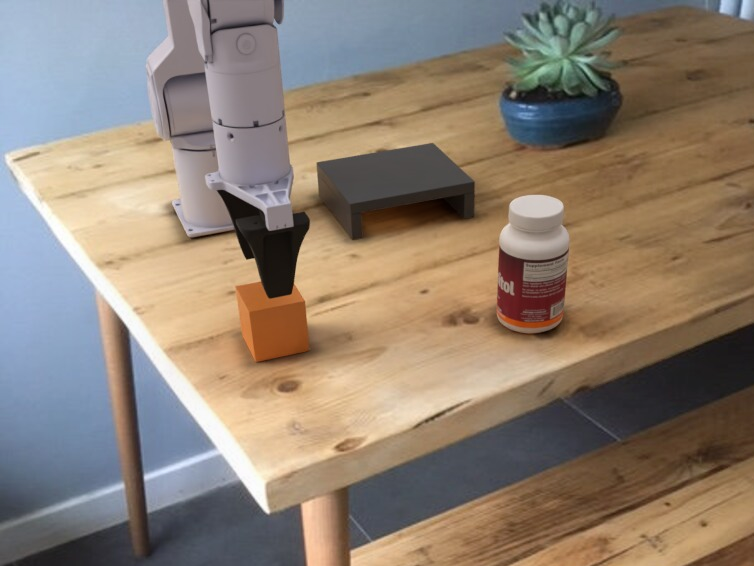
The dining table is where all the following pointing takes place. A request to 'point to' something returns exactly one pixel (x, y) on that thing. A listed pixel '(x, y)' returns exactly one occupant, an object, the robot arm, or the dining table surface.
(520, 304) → the pill bottle
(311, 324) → the dining table surface
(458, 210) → the shelf
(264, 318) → the cube
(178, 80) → the robot arm
